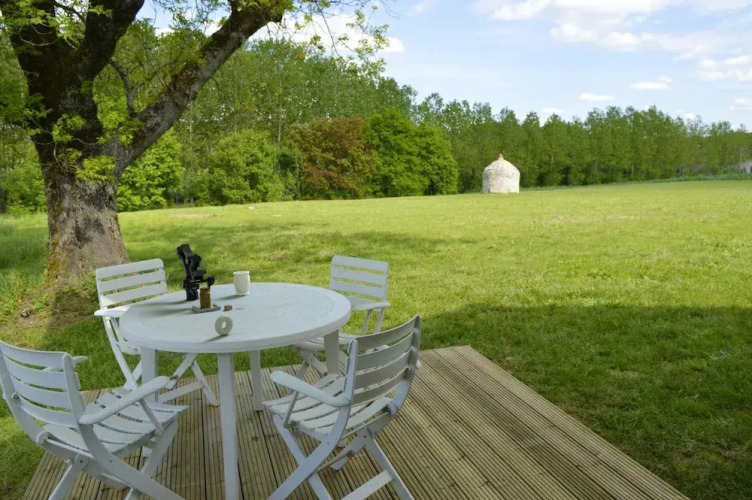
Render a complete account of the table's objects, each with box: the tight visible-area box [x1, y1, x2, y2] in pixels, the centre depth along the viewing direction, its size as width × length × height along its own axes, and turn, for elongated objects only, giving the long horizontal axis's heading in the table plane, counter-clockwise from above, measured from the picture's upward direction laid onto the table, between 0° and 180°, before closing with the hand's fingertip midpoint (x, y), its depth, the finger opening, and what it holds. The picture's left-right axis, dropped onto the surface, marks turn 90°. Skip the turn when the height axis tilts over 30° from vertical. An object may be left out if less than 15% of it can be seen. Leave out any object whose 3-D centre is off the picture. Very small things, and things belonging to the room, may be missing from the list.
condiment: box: [198, 286, 212, 309], centre depth 324 cm, size 7×8×12 cm
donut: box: [214, 314, 234, 336], centre depth 269 cm, size 10×4×10 cm, turn 143°
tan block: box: [223, 304, 233, 311], centre depth 322 cm, size 4×3×2 cm
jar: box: [232, 270, 251, 297], centre depth 362 cm, size 11×10×15 cm
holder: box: [191, 302, 221, 314], centre depth 324 cm, size 13×13×2 cm
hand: (201, 293), depth 330 cm, fingers open, 9 cm apart
